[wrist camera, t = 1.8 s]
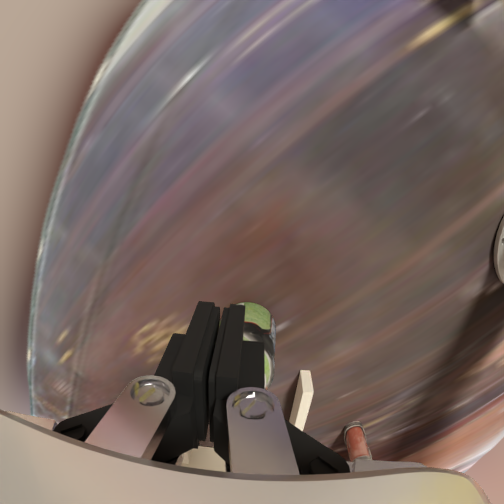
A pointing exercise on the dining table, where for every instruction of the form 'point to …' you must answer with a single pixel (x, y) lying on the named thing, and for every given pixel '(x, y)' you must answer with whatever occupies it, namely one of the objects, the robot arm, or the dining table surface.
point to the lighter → (356, 442)
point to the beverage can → (261, 334)
